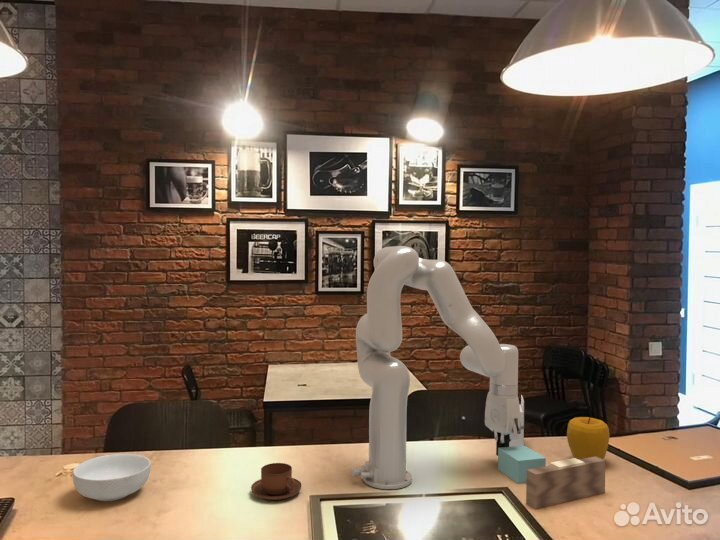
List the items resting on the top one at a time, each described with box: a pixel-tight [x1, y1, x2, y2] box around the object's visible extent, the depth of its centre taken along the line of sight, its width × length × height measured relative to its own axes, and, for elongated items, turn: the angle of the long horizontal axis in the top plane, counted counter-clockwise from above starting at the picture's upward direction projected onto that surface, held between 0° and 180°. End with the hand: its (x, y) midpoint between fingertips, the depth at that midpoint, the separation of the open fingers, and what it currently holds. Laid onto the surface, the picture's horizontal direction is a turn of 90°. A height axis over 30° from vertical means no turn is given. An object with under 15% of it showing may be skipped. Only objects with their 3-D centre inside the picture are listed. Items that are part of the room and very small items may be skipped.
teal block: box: [497, 444, 547, 485], centre depth 149 cm, size 8×10×6 cm
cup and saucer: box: [250, 462, 302, 501], centre depth 136 cm, size 12×12×6 cm
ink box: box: [509, 394, 525, 447], centre depth 172 cm, size 9×5×15 cm, turn 168°
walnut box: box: [525, 456, 606, 510], centre depth 134 cm, size 22×3×9 cm, turn 115°
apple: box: [566, 416, 611, 460], centre depth 158 cm, size 11×11×13 cm
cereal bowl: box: [72, 453, 152, 502], centre depth 134 cm, size 17×17×7 cm
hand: (502, 455), depth 155 cm, fingers closed
